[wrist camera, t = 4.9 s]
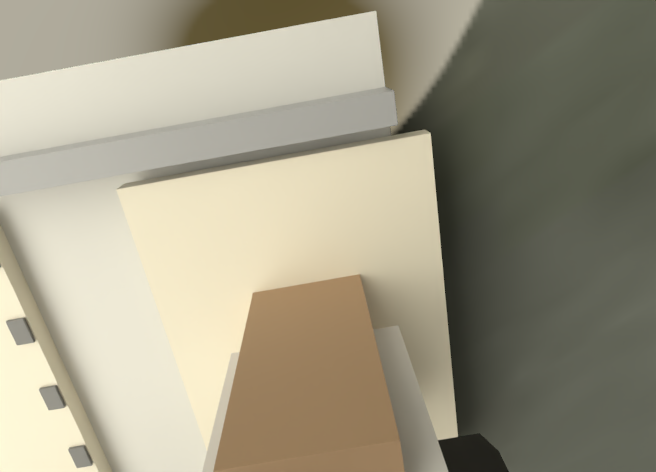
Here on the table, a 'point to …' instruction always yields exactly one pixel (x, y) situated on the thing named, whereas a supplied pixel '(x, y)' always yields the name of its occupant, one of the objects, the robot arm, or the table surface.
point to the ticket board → (114, 233)
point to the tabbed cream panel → (301, 298)
